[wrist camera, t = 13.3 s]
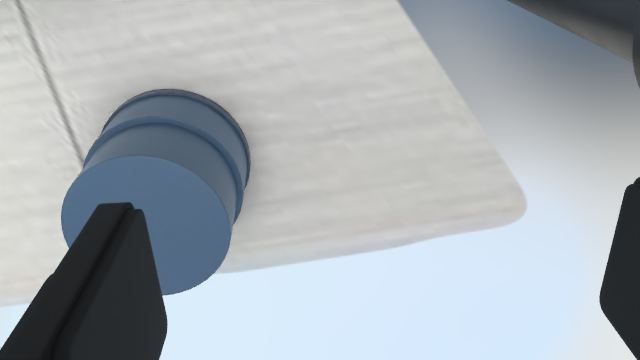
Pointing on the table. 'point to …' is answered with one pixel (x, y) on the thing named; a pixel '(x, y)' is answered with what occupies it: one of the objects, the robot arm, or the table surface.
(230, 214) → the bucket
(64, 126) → the table surface
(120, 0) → the table surface
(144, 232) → the robot arm
